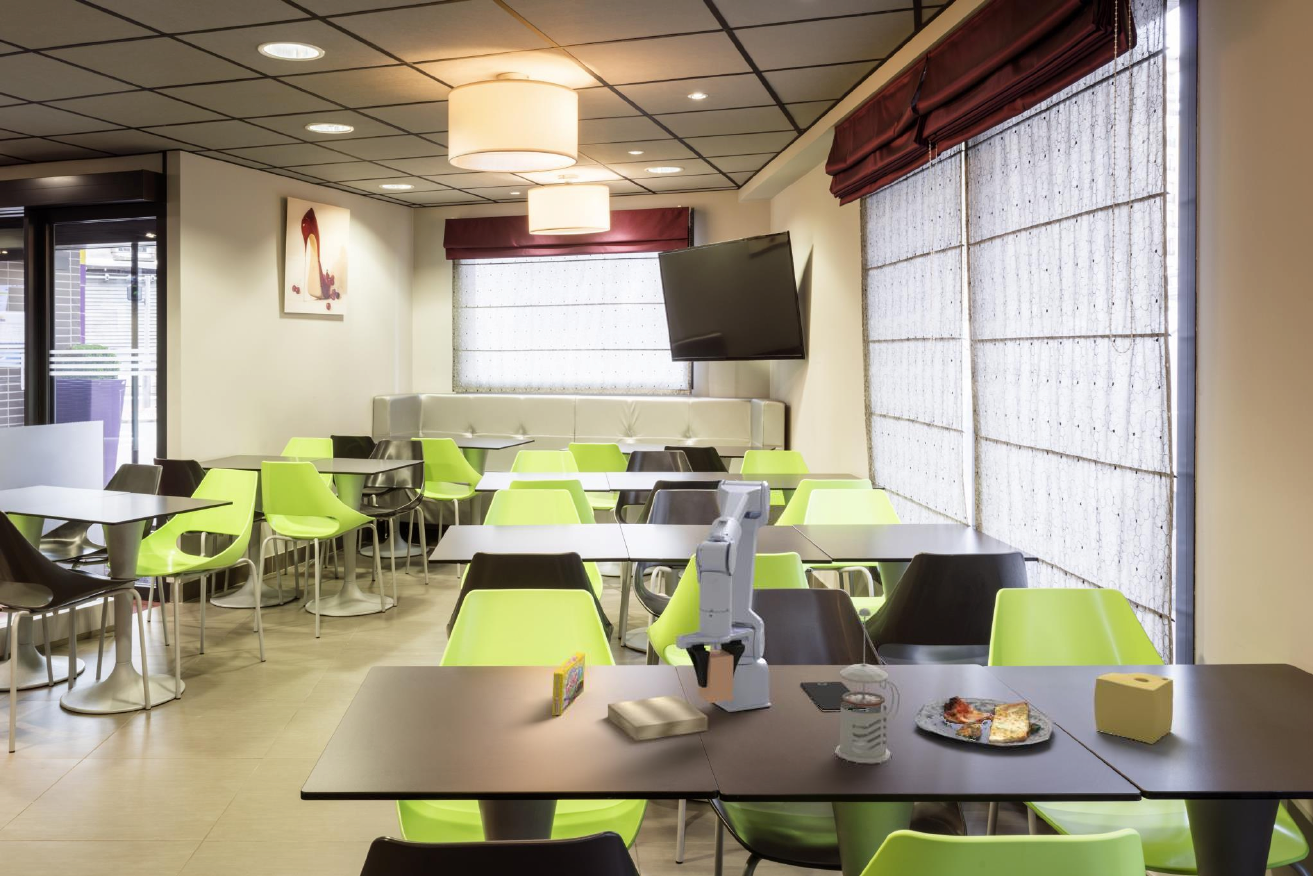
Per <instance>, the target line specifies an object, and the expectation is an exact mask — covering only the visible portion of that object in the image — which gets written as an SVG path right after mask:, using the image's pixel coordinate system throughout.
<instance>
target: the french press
mask: <svg viewBox="0 0 1313 876" xmlns="http://www.w3.org/2000/svg"><path fill="white" fill-rule="evenodd" d="M858 611H859V612H858V615H859V616H861V617H864V618H863V663H858V664H857V663H855V664H851V665H848V667H845V668H843V669H842V670H840V673H839V675H840V677H841V678H842V680H845V681H848V682H851V683H856V684H857V683H858V684H863V687H862V688H863V690H862V691H860V690H859V691H856V690H854V691H851V692H848V693H845V694H844V695H842V698H843V700H844V702H842V703H841V712H840V716H839V717H840V719H839V721H840V725H839V727H840V729H839V731H840V732H839V745H837V747H835V748H836V750H835V753H837V754H839V756H842V757H843V758H846V759H848V760H854V761H857V762H880V761H882V760H887V758H889V756H890V753H891V751H890V750H889V749H888V748H887V725H888V724H889V723H890V722H891V721H893V719H894V718H896V716H897V713H898V712H899V708H900V698H901V697H900V693H899V690H898V687H897V686H896V685H895V683H894V682H891V681H890V680H888V678H889V674H888V673H887V672H886V671H884V670H883V669H880V667H878V666H875V665H872V664H868V663H866V617H870V616H871V611H870V609H868V608H865V607H863V608H861V609H859V610H858ZM884 682H885V683H884ZM882 683H884V686H882ZM867 684H879V687H880V688H881V689H883V690H885V689H886V688H887V684H888V685H889V687H890V689H891V695H892V696H891V697H892V699H891V704H890V705H891V706H890V709H889V711H888V712H887V706H886V705H884V703H885V702H886V698H885V697H884V696H883V695H881V694H879V693H875V692H872V691H865V685H867ZM892 686H893V687H894V689H895V691H896V695H897V706H896V711H895V713H894V715H893V716H892V717H891V718H890V719H888V720H887V718H888V716H889V715H890V713H891V712H892V709H893V706H894V702H895V700H894V699H895V694H894V690H893V687H892ZM882 704H883V711H882ZM855 705H858V706H863V707H865V708H867V710H868V711H867V710H866V711H864V710H859V709H854V710H851V711H848V710H847V709H848V708H849V707H852V706H855ZM856 728H858V729H860V730H858V729H856ZM881 728H882V729H881ZM881 735H882V736H881ZM881 742H882V744H881Z"/></svg>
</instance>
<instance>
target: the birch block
mask: <svg viewBox="0 0 1313 876" xmlns="http://www.w3.org/2000/svg"><path fill="white" fill-rule="evenodd" d="M607 718H608V719H610V721H612V722H613V723H614V724H616V725H617V726H618V727H619V728H621V730H622V731H624V732H625V733H626V734H628V736H630V737H631V738H632V739H633V740H635V742H637V741H644V740H649V739H650V740H651V739H657V738H663V737H671V736H677V735H684V734H691V733H692V734H693V733H697V732H698V733H699V732H705V731H708V715H706V714H704V713H703V712H701V711H700V710H698V709H696V708H695V707H694V706H692V705H691V704H689V703H687V701H685V700H683V699H682V698H680V697H679V696H677V695H676V694H675V695H674V694H673V695H667V696H665V695H664V696H659V697H651V698H645V699H643V698H642V699H636V700H629V701H628V700H627V701H620V702H612V703H608V704H607Z"/></svg>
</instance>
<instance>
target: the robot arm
mask: <svg viewBox="0 0 1313 876" xmlns="http://www.w3.org/2000/svg"><path fill="white" fill-rule="evenodd" d="M716 490H717V491H716V492H717V493H716V501H717V506H718V510H719V512H720V516H719V517H717V518H716V519H714V521H712V524H711V526H710V528H709V531H708V534H707V535H706V538H705V540H703V541H702V542H701V543H698V544H697V545H696V550H695V559H694V561H695V570H696V581H697V583H698V584H699V607H698V608H699V611H698V612H699V614H698V615H699V619H698V621H699V622H698V623H699V624H698V626H699V628H698V629H699V630H698V631H695V632H691V633H687V634H681V635H677V636H675V639H676V640H675V641H676V642H675V646H676V648H677V649H680V650H685V651H686V652H687V654H688V657H689V658H690V661H691V663H692V666H693V669H694V671H695V676H696V680H697V686H698V687H699V686H701V687H702V688H705V687H707V667H708V660H709V655H710V652H709V650H707V649H706V648H707V647H706V646H710V650H718V649H722V650H724V651H726V652H728V653H730V654H732V655H733V700H729V701H722V702H715V703H714V704H715V705H717V706H718V707H720V708H722V709H724V710H725V711H727V713H732V712H738V711H745V710H755V709H759V708H760V709H762V708H768V707H772V704H771V703H770V670H769V666H768V663H767V661H766V660H765V659H764V658H763V655H764V652H765V645H766V643H765V642H766V641H765V640H766V637H765V623H764V621H763V619H762V618H761V617H760V616H759V615H758V614H757V613H756V612H754V611H753V610H752V605H753V595H754V594H753V593H754V579H755V577H754V576H755V566H756V557H757V556H756V554H757V553H756V552H757V543H758V542H757V541H758V536H759V531H760V528H762V527H764V526H765V525H768V521H769V518H770V508H771V507H770V506H771V486H770V484H769V483H768V482H767V480H763V481H756V480H755V481H748V480H726V479H721V481H720V482H719V483H718V486H717V489H716Z"/></svg>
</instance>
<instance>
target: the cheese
mask: <svg viewBox="0 0 1313 876" xmlns="http://www.w3.org/2000/svg"><path fill="white" fill-rule="evenodd" d="M1094 686H1095V687H1094V696H1093V697H1094V698H1093V699H1094V700H1093V705H1094V706H1093V707H1094V719H1095V727H1096V731H1097V730H1098V731H1103V732H1106V733H1112V734H1114V735H1113V736H1115V735H1119V736H1124V737H1127V738H1131V739H1130V740H1132V739H1135V740H1134V741H1137V740H1138V742H1141V741H1142V743H1145V742H1146V744H1150V745H1153V744H1154V743H1155V744H1156V742H1158V741H1159V740H1160V739H1161V737H1162V736H1163V737H1164V736H1166V735H1168V734H1169V733H1171V732H1172V725H1173V716H1174V715H1173V714H1174V712H1173V711H1174V710H1173V709H1174V702H1173V701H1174V679H1172V678H1166V677H1164V676H1159V675H1156V674H1155V675H1154V674H1150V673H1144V672H1131V673H1119V672H1110V673H1106V674H1105V673H1104V674H1102V675H1099V676H1098V677H1097V678H1096V679H1095V685H1094ZM1170 731H1171V732H1170ZM1167 733H1168V734H1167ZM1119 736H1118V737H1119ZM1163 737H1162V738H1163ZM1127 738H1126V739H1127ZM1157 740H1158V741H1157Z"/></svg>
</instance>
